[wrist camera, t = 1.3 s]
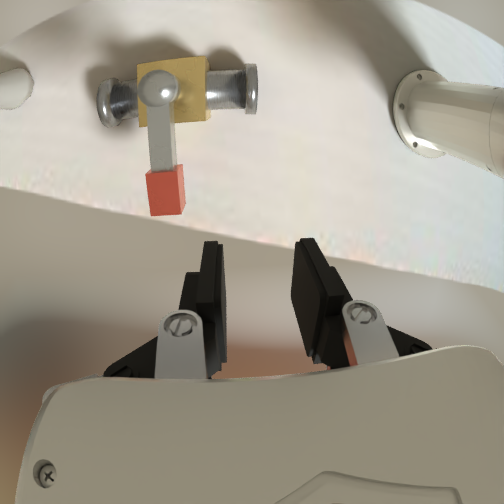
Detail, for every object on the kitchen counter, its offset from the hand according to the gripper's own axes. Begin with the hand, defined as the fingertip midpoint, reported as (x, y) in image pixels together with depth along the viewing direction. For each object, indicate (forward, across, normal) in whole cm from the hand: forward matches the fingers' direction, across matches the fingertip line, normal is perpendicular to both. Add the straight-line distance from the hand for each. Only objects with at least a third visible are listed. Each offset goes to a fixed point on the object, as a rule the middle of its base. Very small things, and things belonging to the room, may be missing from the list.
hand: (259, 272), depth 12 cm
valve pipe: (+23, +6, -8) cm, 26 cm away
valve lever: (+14, +7, -4) cm, 16 cm away
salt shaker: (+23, +30, -14) cm, 40 cm away
